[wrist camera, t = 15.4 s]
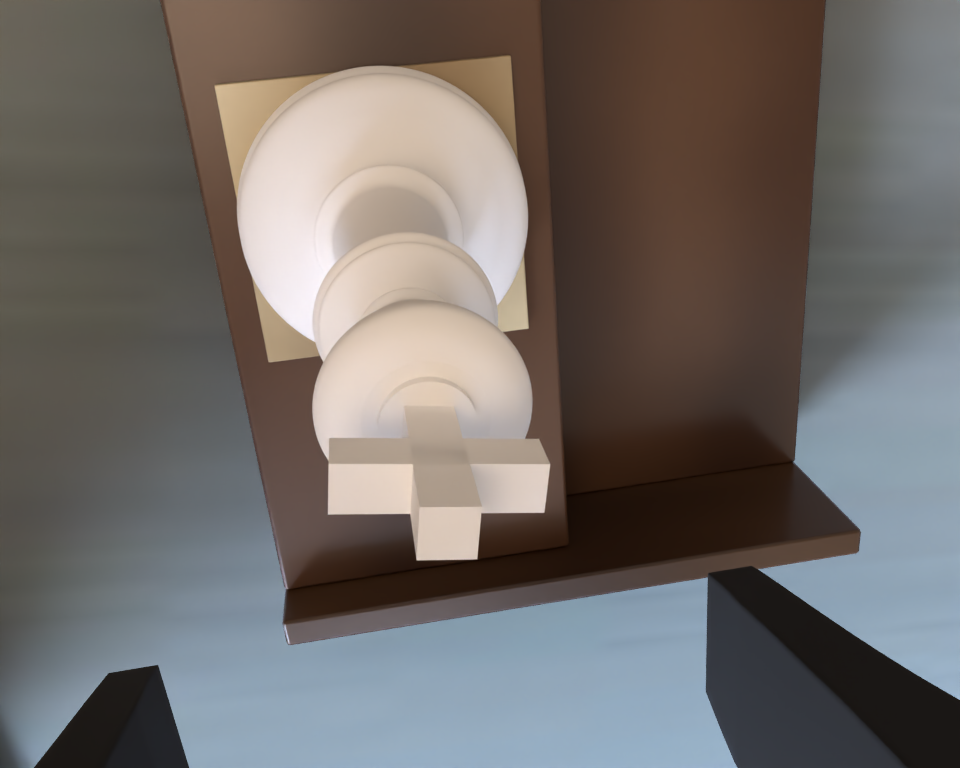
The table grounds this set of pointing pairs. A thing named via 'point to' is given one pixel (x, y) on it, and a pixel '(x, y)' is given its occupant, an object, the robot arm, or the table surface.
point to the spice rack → (560, 289)
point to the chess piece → (400, 295)
